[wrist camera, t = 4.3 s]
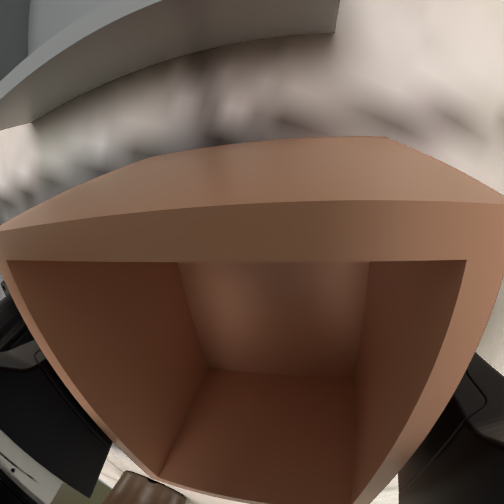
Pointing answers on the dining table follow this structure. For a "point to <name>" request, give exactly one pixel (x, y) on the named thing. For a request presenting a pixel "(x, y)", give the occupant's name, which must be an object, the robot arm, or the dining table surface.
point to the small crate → (264, 309)
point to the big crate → (125, 41)
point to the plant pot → (141, 492)
